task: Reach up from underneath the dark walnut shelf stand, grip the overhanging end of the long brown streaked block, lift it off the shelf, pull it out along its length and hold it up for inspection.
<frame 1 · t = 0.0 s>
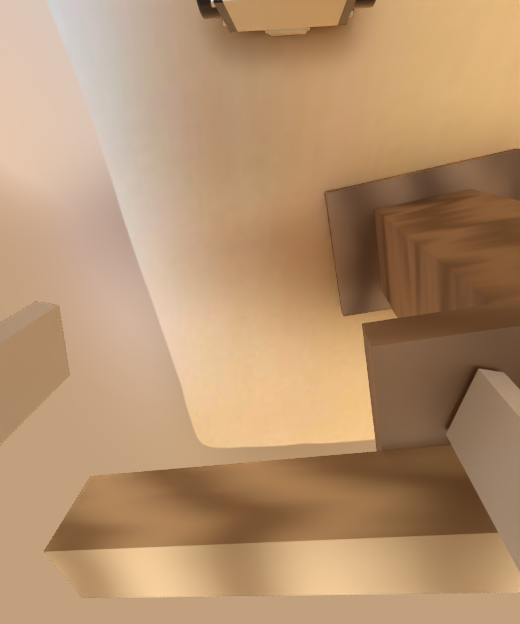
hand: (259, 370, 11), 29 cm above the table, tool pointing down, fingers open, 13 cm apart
shelf stand: (417, 239, 37), on the table
pneumatic valve: (288, 5, 29), on the table
brown streaked block: (470, 473, 12), point 28 cm above the table, touching shelf stand
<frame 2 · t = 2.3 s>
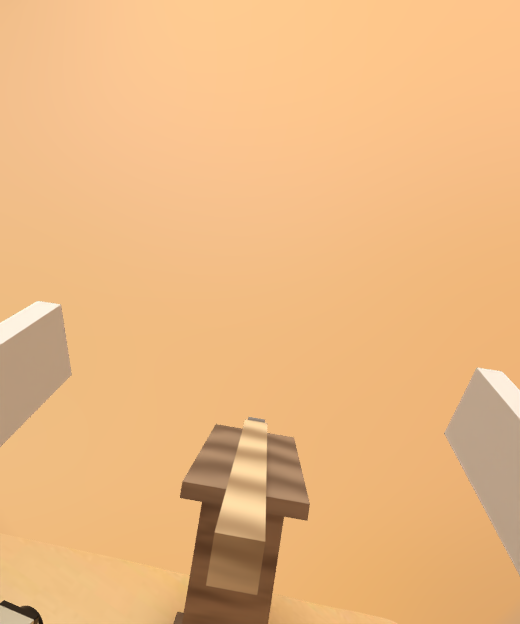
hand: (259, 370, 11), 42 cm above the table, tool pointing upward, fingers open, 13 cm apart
brown streaked block: (247, 478, 34), point 28 cm above the table, touching shelf stand
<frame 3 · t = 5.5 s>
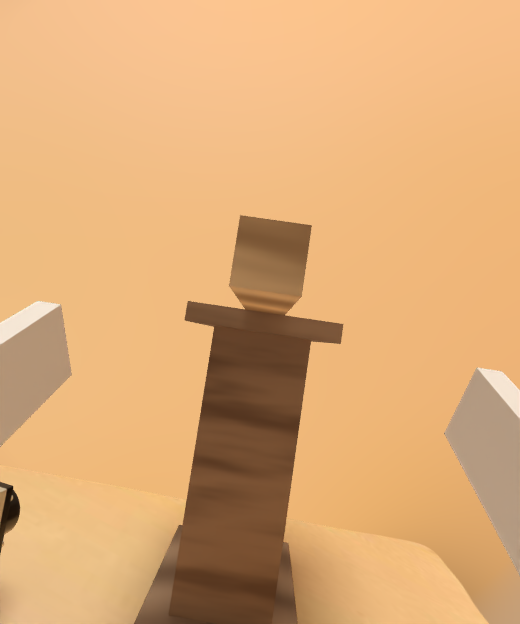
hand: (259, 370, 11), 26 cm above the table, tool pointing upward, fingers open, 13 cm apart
shelf stand: (222, 601, 34), on the table
brown streaked block: (264, 315, 29), point 28 cm above the table, touching shelf stand
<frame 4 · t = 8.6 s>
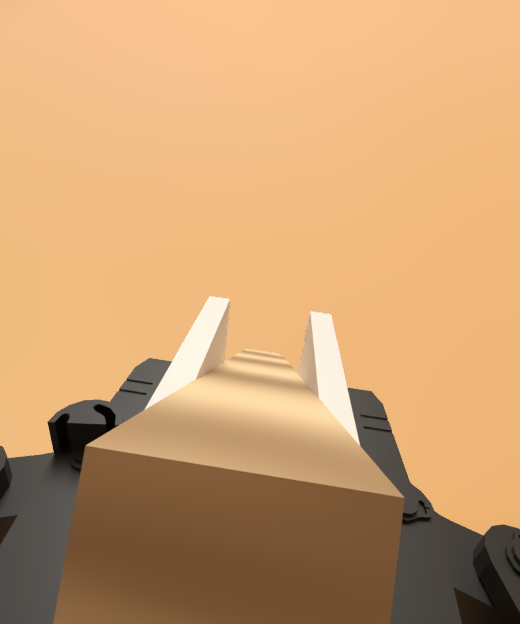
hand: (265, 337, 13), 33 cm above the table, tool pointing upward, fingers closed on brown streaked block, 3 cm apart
brown streaked block: (253, 416, 18), point 28 cm above the table, touching gripper, shelf stand
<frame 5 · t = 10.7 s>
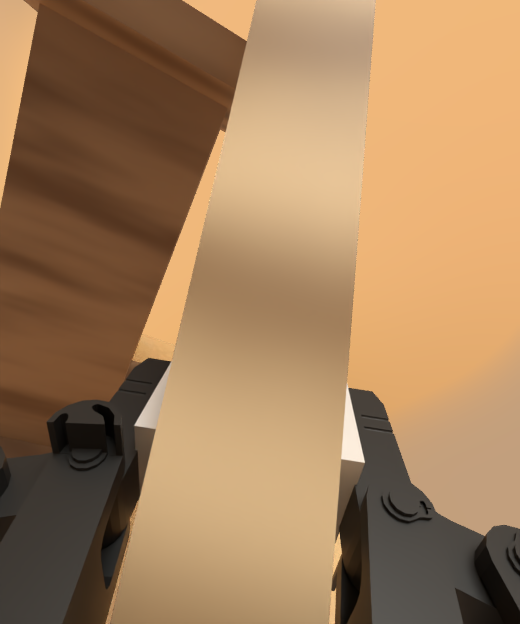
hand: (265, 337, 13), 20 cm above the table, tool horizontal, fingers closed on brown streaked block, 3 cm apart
shelf stand: (51, 415, 29), on the table
brown streaked block: (300, 101, 12), point 27 cm above the table, tilted 55°, touching gripper
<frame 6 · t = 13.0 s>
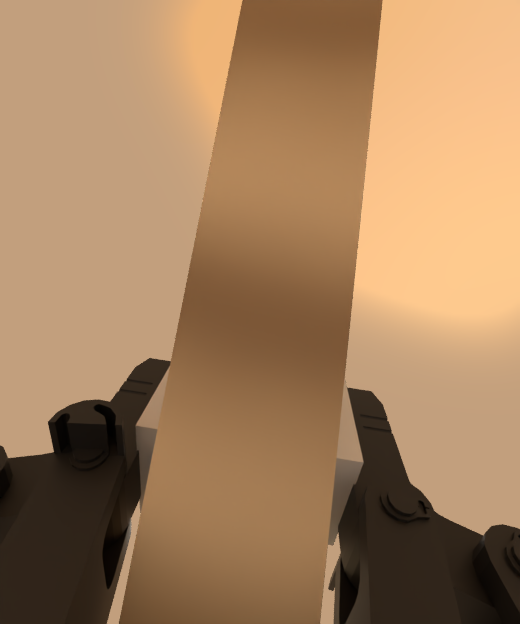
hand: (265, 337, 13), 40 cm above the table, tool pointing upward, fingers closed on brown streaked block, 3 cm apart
brown streaked block: (301, 75, 11), point 34 cm above the table, tilted 154°, touching gripper
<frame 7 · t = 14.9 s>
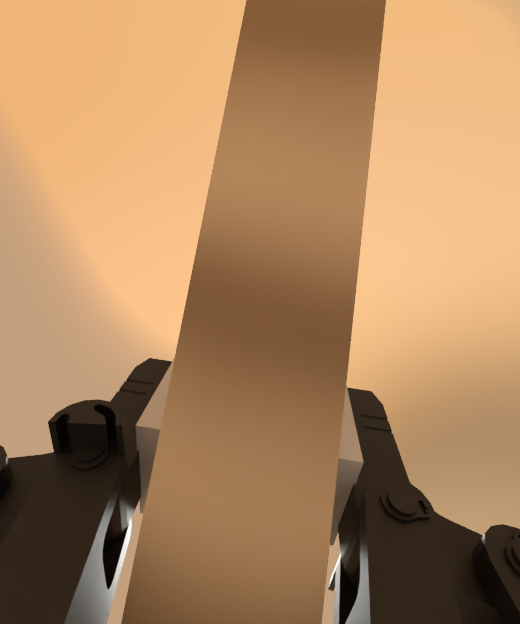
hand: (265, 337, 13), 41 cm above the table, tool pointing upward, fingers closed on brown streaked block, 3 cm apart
brown streaked block: (304, 76, 11), point 34 cm above the table, tilted 157°, touching gripper
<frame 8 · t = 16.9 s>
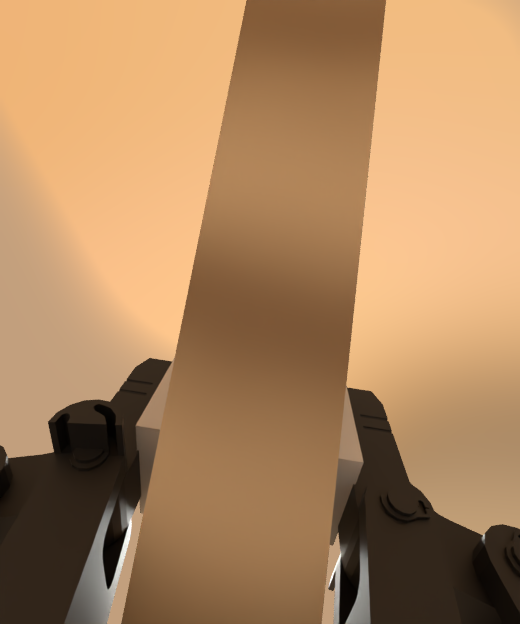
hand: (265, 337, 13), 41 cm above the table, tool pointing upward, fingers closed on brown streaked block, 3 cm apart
brown streaked block: (304, 76, 11), point 34 cm above the table, tilted 157°, touching gripper
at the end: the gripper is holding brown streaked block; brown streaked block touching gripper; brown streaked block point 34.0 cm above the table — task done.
